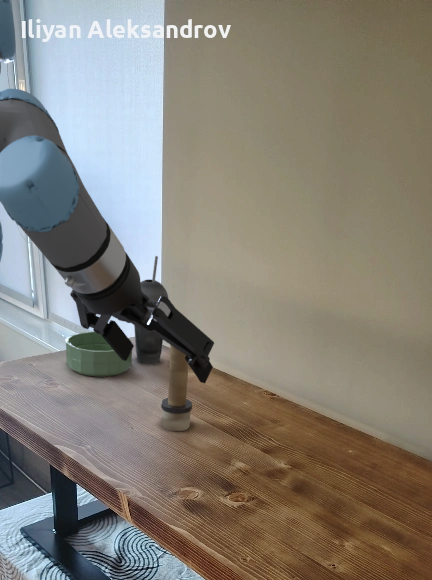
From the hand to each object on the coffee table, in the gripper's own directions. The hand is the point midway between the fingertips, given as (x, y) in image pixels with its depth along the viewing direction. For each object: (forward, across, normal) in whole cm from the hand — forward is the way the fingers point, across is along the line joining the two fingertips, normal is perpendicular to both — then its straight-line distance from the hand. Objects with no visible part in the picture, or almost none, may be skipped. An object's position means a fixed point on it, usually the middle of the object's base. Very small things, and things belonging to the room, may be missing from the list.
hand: (166, 363), depth 90 cm
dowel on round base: (+10, 0, -5) cm, 12 cm away
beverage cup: (+26, -21, +10) cm, 35 cm away
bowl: (+19, -26, +4) cm, 33 cm away
